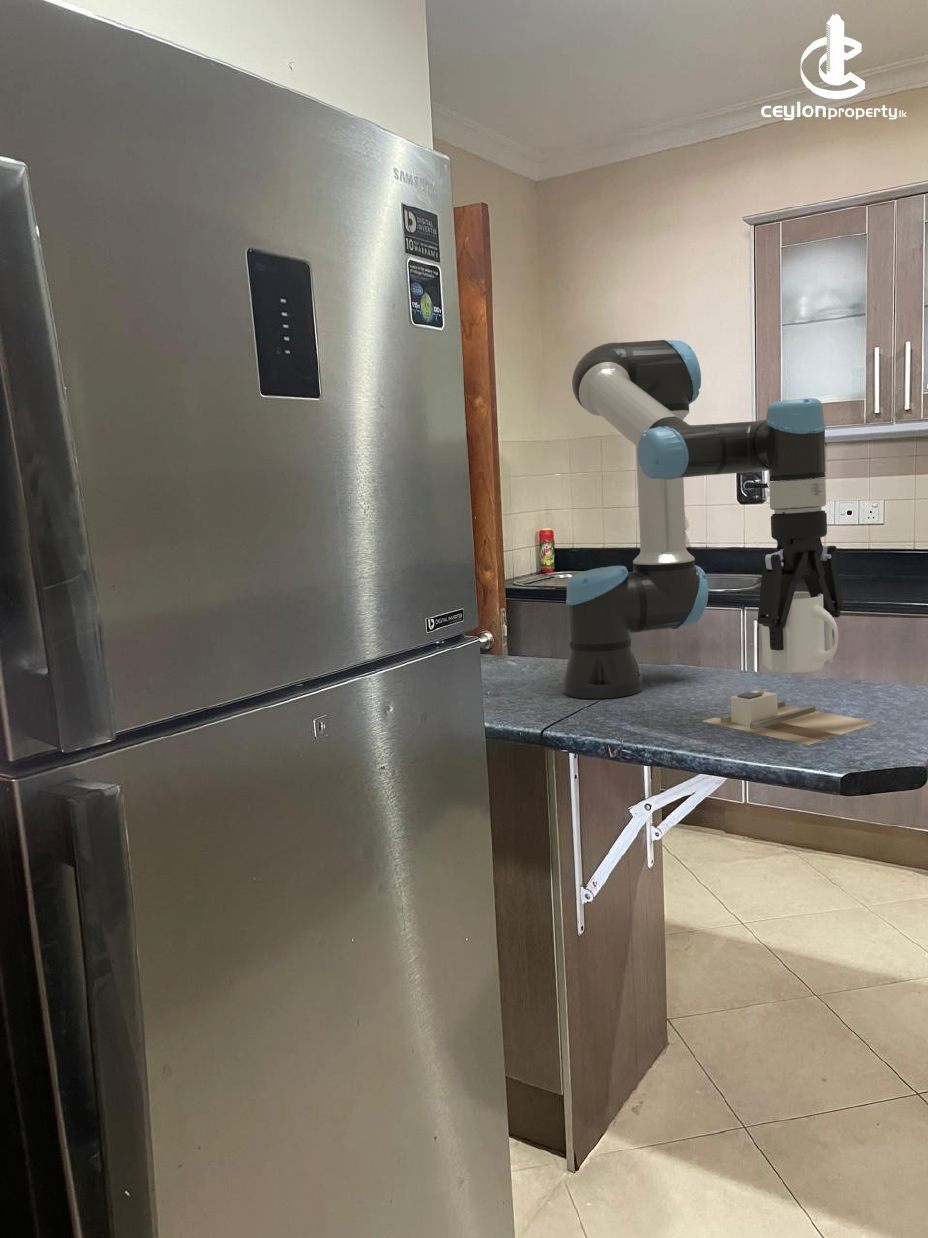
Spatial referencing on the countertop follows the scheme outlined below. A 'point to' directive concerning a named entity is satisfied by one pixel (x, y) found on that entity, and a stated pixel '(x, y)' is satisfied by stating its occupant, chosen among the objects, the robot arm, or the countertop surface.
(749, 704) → the block
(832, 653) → the mug
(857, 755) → the countertop surface
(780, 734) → the subfloor panel
